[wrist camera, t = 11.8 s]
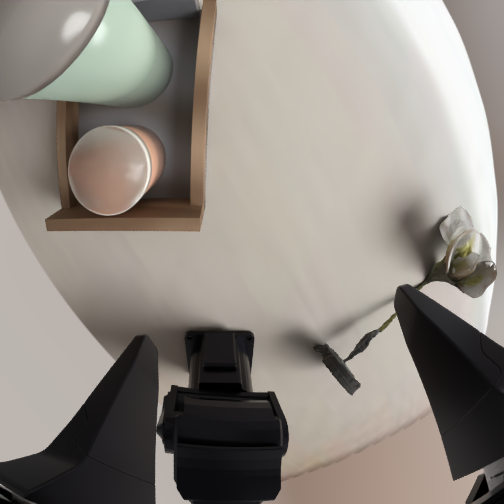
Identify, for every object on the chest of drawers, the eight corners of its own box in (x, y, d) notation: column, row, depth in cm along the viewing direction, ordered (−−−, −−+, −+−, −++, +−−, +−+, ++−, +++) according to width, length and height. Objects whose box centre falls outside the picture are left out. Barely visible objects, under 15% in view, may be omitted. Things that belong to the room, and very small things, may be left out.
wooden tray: (205, 206, 21) (199, 231, 16) (78, 208, 19) (47, 231, 15) (216, 13, 14) (215, -17, 10) (82, 29, 13) (51, 13, 9)
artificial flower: (292, 324, 28) (313, 378, 18) (442, 195, 26) (503, 195, 17) (336, 376, 29) (364, 432, 19) (469, 255, 28) (525, 271, 18)
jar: (166, 193, 19) (150, 215, 15) (102, 195, 19) (72, 216, 14) (167, 122, 17) (148, 122, 13) (100, 127, 17) (66, 131, 12)
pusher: (198, 17, 14) (193, -4, 10) (88, 32, 13) (65, 19, 9) (199, 8, 13) (195, -14, 10) (90, 23, 12) (67, 9, 9)
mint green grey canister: (188, 80, 16) (131, 5, 4) (121, 124, 17) (-8, 137, 5) (152, 25, 14) (77, -73, 2) (89, 69, 14) (-38, 37, 3)
